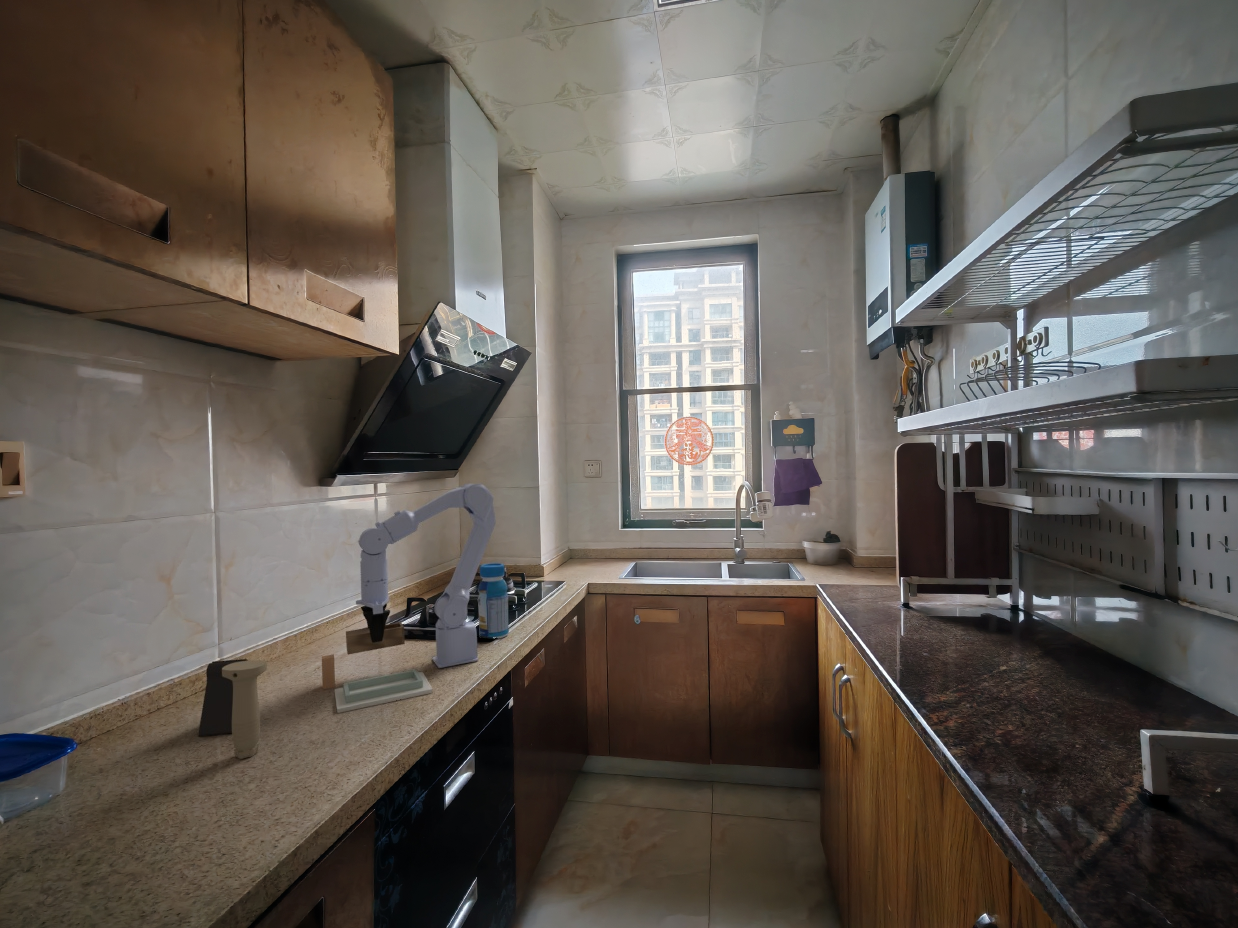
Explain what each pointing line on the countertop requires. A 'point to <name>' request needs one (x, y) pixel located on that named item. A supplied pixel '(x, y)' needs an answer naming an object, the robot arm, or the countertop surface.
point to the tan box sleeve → (362, 640)
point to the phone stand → (217, 701)
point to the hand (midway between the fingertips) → (376, 638)
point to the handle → (245, 705)
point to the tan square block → (328, 671)
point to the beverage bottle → (493, 601)
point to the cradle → (381, 690)
